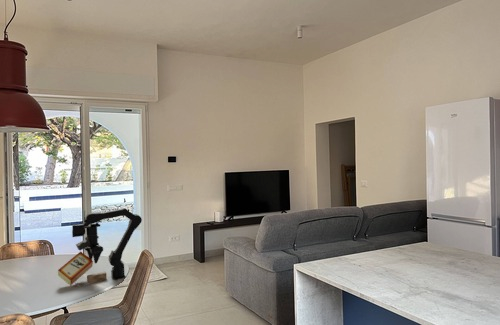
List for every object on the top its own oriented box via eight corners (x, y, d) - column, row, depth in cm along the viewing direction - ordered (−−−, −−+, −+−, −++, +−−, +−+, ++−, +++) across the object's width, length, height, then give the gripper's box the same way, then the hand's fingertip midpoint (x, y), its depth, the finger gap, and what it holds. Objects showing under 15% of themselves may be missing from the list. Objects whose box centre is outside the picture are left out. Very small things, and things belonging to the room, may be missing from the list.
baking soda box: (57, 270, 205) (81, 250, 217) (58, 275, 210) (80, 256, 221) (70, 280, 204) (93, 260, 215) (70, 285, 208) (92, 266, 220)
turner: (103, 277, 221) (103, 271, 221) (107, 280, 216) (107, 273, 216) (75, 284, 211) (75, 277, 211) (78, 286, 206) (78, 279, 206)
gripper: (72, 234, 216) (73, 261, 216) (82, 239, 201) (83, 268, 202) (92, 231, 223) (93, 257, 223) (102, 236, 209) (104, 263, 209)
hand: (93, 261), depth 214 cm, fingers open, 9 cm apart
